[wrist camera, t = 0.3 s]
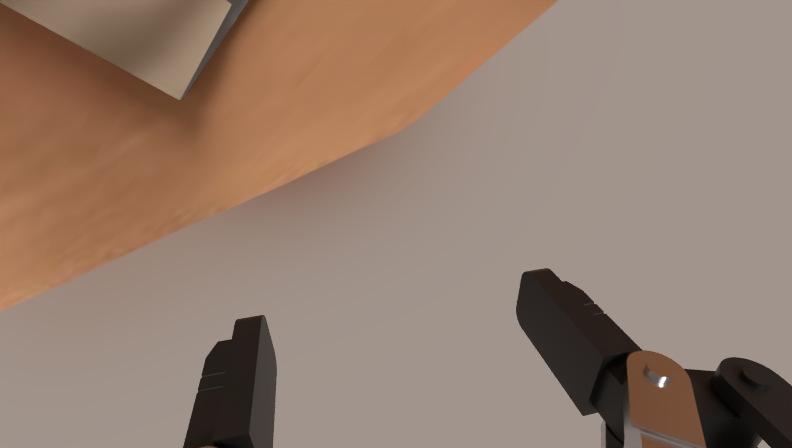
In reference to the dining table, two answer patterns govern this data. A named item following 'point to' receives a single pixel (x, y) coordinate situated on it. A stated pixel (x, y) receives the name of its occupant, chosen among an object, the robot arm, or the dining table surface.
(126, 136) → the dining table surface
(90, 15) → the plank
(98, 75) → the dining table surface
